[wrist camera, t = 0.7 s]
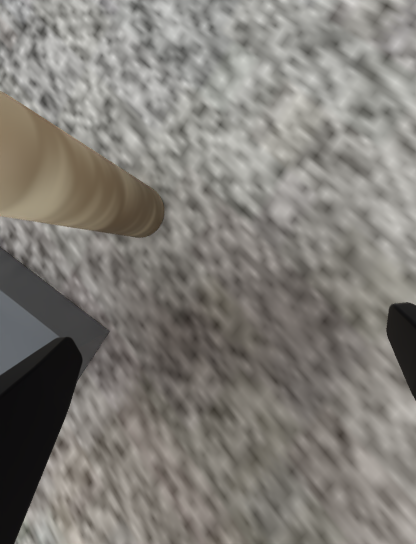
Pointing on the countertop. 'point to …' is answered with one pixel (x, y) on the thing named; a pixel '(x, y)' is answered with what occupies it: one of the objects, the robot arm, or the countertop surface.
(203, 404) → the countertop surface
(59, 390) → the robot arm
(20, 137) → the birch peg
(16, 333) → the charcoal box
